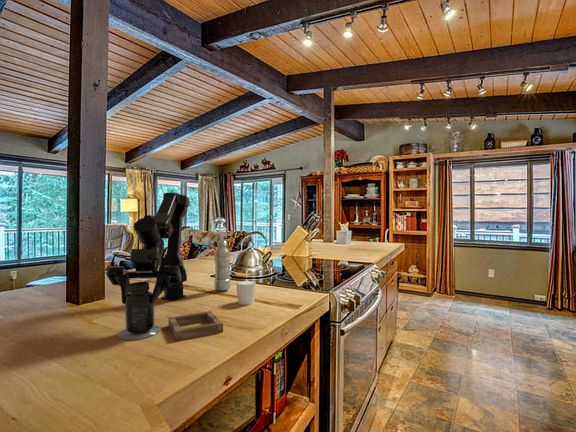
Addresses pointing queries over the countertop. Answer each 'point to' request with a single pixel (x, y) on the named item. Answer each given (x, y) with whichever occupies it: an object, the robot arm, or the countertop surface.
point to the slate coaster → (138, 334)
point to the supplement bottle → (139, 308)
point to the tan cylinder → (245, 292)
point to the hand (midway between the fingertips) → (137, 303)
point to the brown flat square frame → (195, 331)
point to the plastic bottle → (222, 267)
